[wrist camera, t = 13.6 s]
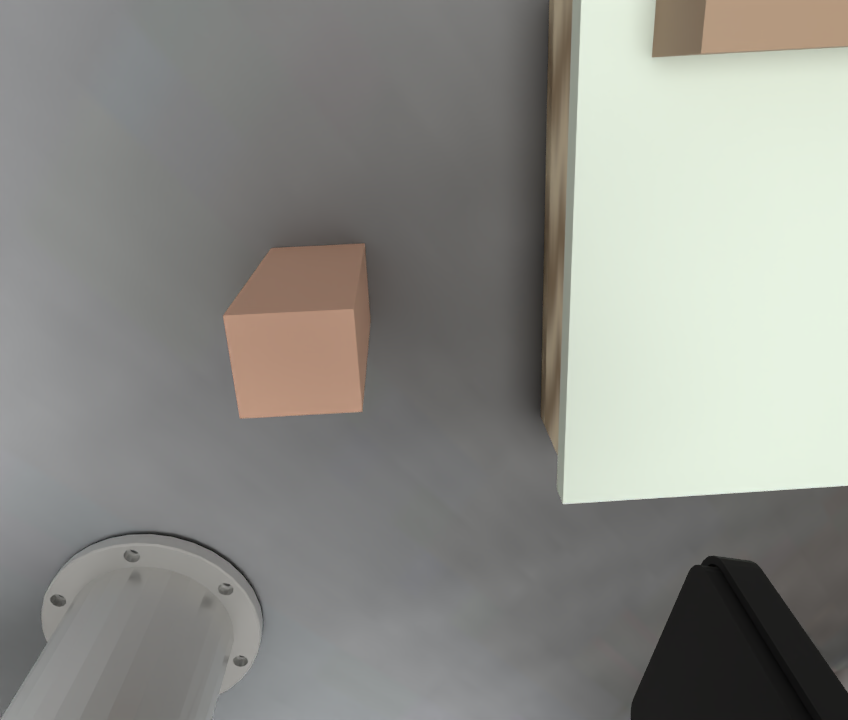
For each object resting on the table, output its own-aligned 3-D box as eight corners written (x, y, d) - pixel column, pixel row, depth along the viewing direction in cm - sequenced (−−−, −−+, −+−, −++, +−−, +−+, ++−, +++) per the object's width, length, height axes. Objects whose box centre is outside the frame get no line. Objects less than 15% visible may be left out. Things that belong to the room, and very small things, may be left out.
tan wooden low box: (796, 400, 37) (866, 457, 31) (540, 416, 37) (567, 476, 31) (871, -16, 29) (983, -38, 24) (549, 0, 29) (586, -18, 23)
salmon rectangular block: (370, 321, 34) (362, 411, 25) (281, 326, 34) (240, 418, 25) (364, 243, 33) (353, 309, 23) (271, 247, 33) (223, 315, 23)
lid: (877, 468, 31) (965, 538, 27) (556, 488, 31) (586, 564, 26) (1006, -57, 23) (1166, -92, 18) (573, -35, 23) (621, -64, 18)
